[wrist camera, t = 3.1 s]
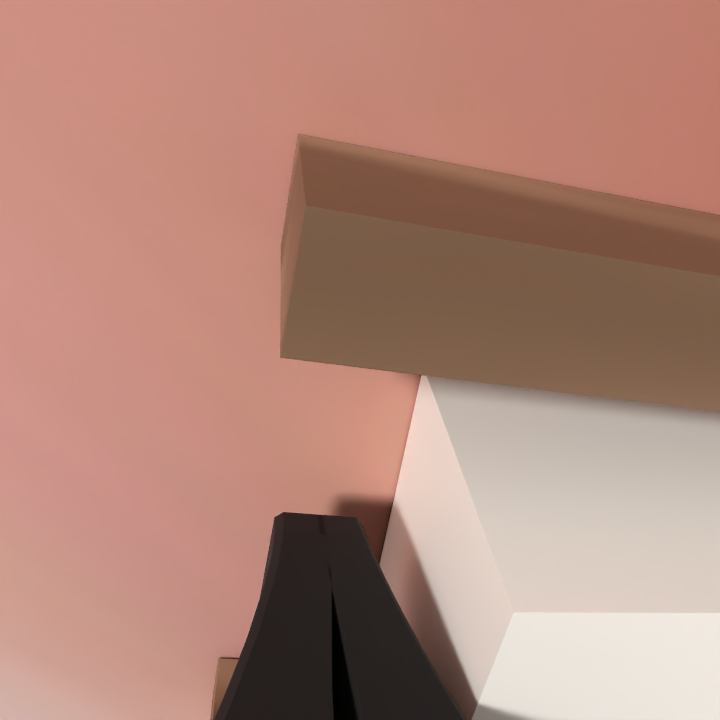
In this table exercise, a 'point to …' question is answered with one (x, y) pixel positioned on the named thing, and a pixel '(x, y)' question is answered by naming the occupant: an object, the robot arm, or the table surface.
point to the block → (560, 552)
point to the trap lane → (495, 282)
